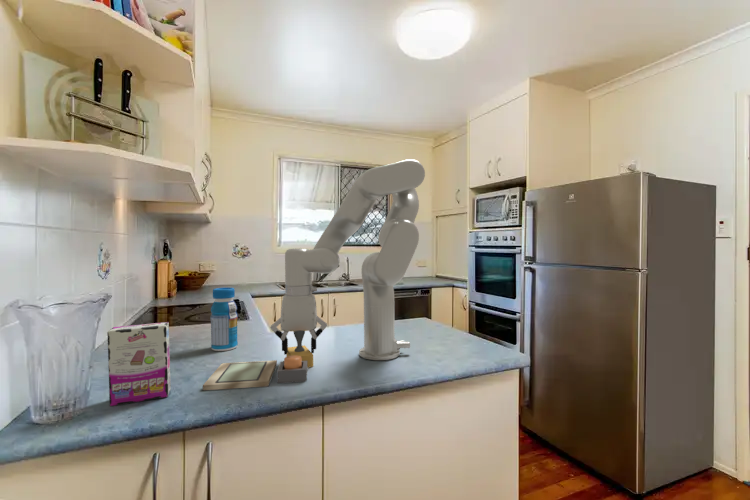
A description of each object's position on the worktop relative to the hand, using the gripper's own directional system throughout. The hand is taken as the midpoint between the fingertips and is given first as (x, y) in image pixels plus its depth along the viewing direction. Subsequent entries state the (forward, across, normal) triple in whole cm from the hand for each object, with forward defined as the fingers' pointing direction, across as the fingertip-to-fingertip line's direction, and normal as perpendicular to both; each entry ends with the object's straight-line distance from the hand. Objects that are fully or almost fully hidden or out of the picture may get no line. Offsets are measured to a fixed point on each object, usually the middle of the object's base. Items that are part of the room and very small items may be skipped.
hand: (299, 352), depth 103 cm
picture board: (+3, +14, +8) cm, 16 cm away
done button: (+2, +1, +11) cm, 11 cm away
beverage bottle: (+4, +26, -20) cm, 33 cm away
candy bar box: (+4, +34, +18) cm, 39 cm away
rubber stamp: (+3, 0, 0) cm, 3 cm away
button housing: (+3, +1, +11) cm, 12 cm away
